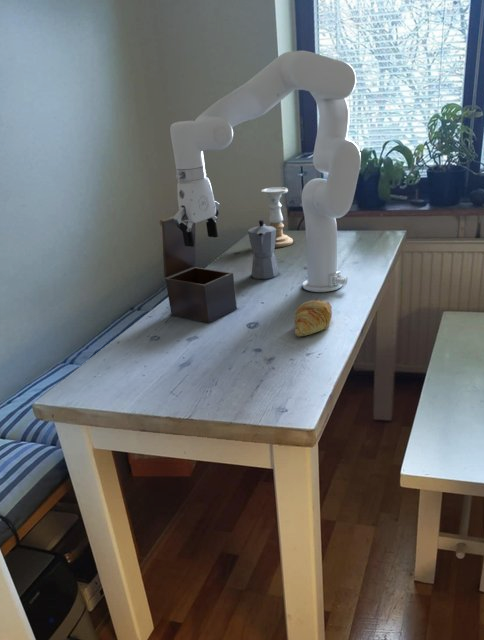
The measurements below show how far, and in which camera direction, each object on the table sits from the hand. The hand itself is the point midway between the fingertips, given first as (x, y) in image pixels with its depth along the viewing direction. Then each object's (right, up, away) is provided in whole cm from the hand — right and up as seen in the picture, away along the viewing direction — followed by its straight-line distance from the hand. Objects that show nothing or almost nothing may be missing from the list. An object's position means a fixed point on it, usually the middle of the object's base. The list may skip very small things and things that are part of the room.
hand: (201, 241), depth 168 cm
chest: (-1, -17, +12) cm, 21 cm away
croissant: (+31, -24, -3) cm, 39 cm away
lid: (-7, +1, +5) cm, 8 cm away
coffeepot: (+17, +2, +40) cm, 44 cm away
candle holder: (+22, +24, +74) cm, 80 cm away
